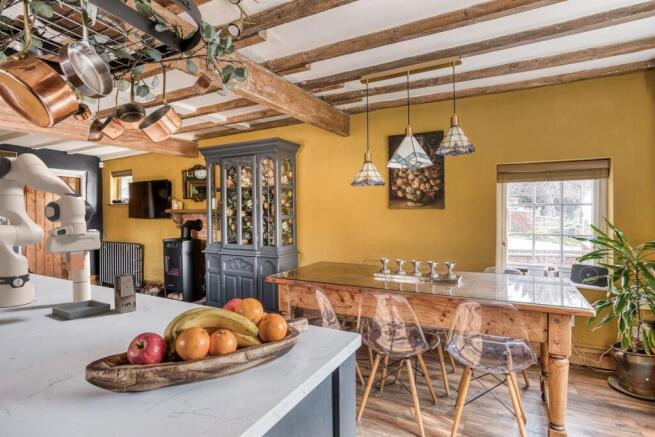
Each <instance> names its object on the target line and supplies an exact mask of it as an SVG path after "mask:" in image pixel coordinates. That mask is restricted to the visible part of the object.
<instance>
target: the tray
mask: <svg viewBox="0 0 655 437" xmlns="http://www.w3.org/2000/svg"><path fill="white" fill-rule="evenodd" d="M51 309H52V310H51V312H52V315H54V316H57V317H60V318H62V319H65V320H68V321H72V320H76V319H81V318H84V317H85V318H86V317H89V316H90V317H91V316H94V315H97V314H98V315H99V314H102V313H107V312H110V311H111V303H107V302H103V301H100V300H96V299H91V300H87V301H82V302H77V303H73V302H72V303H68V304H67V303H66V304H63V305H56V306H53V307H51Z"/></svg>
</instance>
